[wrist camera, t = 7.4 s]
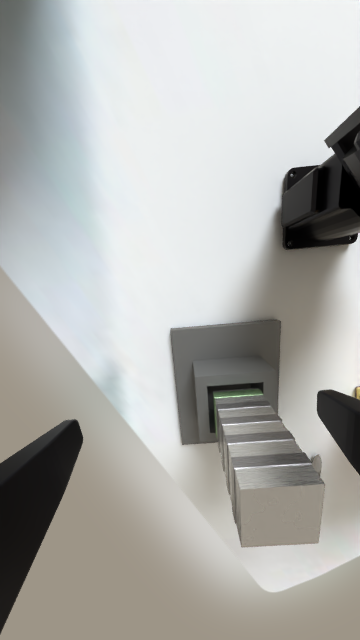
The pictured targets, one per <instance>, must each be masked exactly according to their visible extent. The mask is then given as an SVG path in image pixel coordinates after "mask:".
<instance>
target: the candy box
mask: <svg viewBox="0 0 360 640" xmlns="http://www.w3.org/2000/svg"><path fill="white" fill-rule="evenodd" d="M356 394H357V399H359V400H360V386H359V387H356Z"/></svg>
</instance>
